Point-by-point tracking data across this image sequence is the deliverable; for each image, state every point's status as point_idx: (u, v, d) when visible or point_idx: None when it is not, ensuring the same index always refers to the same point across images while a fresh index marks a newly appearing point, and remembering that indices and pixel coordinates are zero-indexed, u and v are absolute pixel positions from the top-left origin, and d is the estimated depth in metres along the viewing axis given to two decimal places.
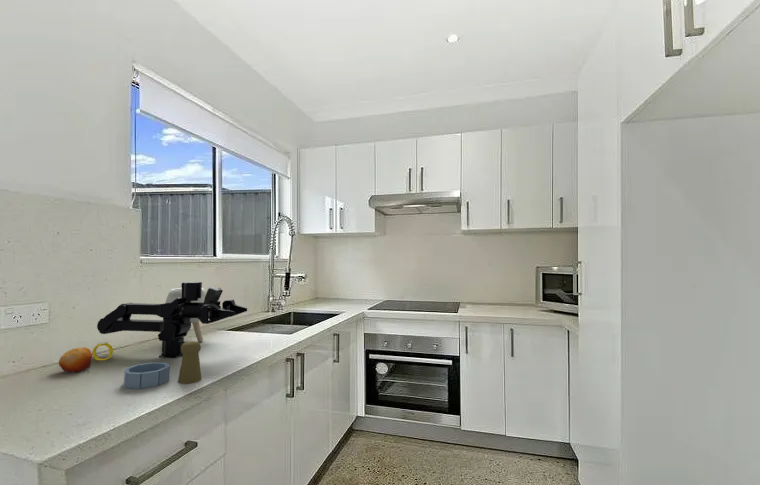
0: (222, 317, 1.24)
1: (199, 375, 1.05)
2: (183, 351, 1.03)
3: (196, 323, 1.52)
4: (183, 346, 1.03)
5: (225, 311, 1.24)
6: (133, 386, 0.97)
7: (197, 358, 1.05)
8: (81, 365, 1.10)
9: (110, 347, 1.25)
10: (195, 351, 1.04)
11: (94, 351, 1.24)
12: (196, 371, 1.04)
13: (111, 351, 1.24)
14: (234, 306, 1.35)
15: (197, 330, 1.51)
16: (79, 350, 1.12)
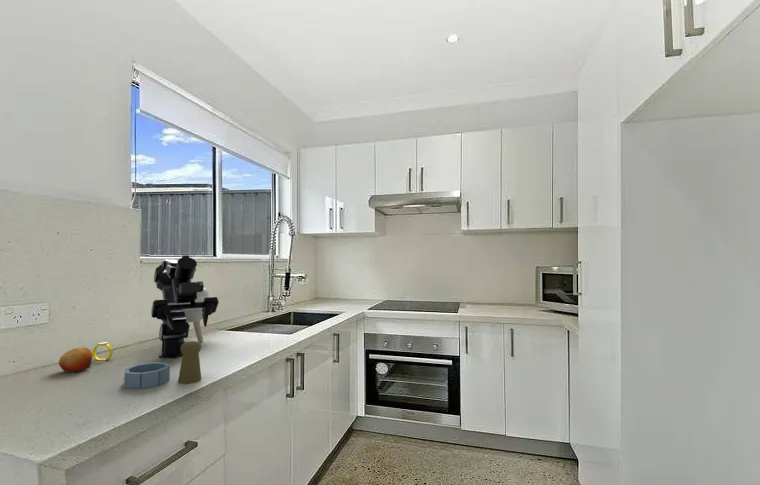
0: (166, 322, 1.11)
1: (199, 375, 1.05)
2: (183, 351, 1.03)
3: (197, 323, 1.52)
4: (183, 346, 1.03)
5: (169, 320, 1.10)
6: (133, 386, 0.97)
7: (197, 358, 1.05)
8: (81, 365, 1.10)
9: (110, 347, 1.25)
10: (195, 351, 1.04)
11: (94, 351, 1.24)
12: (196, 371, 1.04)
13: (111, 351, 1.24)
14: (204, 311, 1.18)
15: (197, 329, 1.52)
16: (79, 350, 1.12)
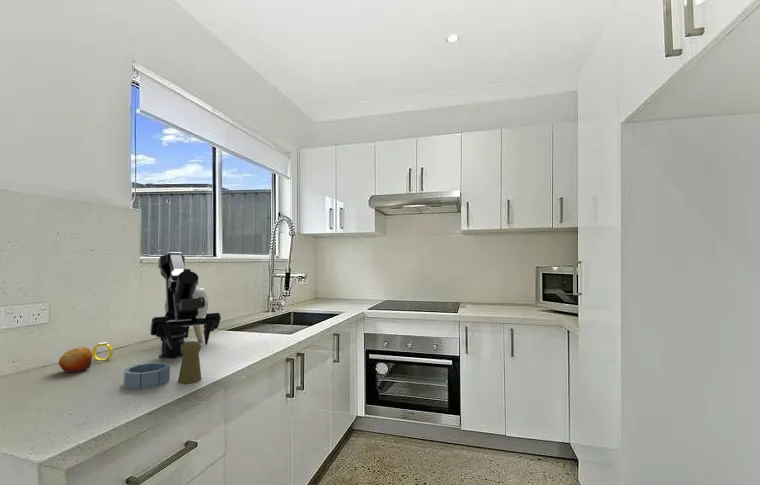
0: (165, 340, 1.06)
1: (199, 375, 1.05)
2: (183, 351, 1.03)
3: None
4: (183, 346, 1.03)
5: (168, 338, 1.05)
6: (133, 386, 0.97)
7: (197, 358, 1.05)
8: (81, 365, 1.10)
9: (110, 347, 1.25)
10: (195, 351, 1.04)
11: (94, 351, 1.24)
12: (196, 371, 1.04)
13: (111, 351, 1.24)
14: (206, 328, 1.12)
15: (197, 330, 1.51)
16: (79, 350, 1.12)
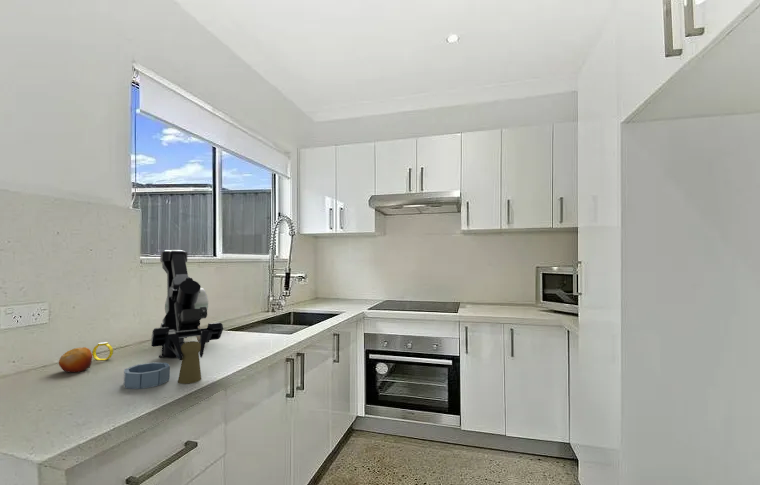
0: (174, 351, 1.05)
1: (199, 375, 1.05)
2: (183, 351, 1.03)
3: None
4: (183, 346, 1.03)
5: (177, 349, 1.03)
6: (133, 386, 0.97)
7: (197, 358, 1.05)
8: (81, 365, 1.10)
9: (110, 347, 1.25)
10: (195, 351, 1.04)
11: (94, 351, 1.24)
12: (196, 371, 1.04)
13: (111, 351, 1.24)
14: (201, 340, 1.08)
15: None
16: (79, 350, 1.12)
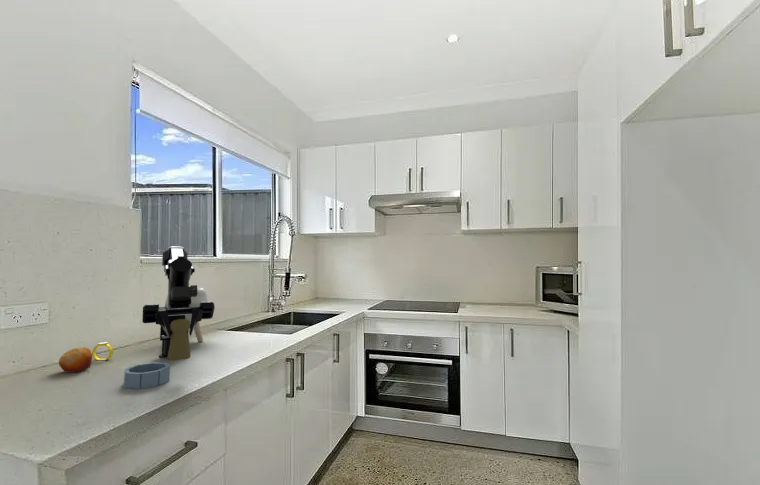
0: (164, 328, 1.04)
1: (188, 353, 1.04)
2: (172, 328, 1.02)
3: None
4: (172, 323, 1.03)
5: (166, 326, 1.03)
6: (133, 386, 0.97)
7: (186, 336, 1.04)
8: (81, 365, 1.10)
9: (110, 347, 1.25)
10: (183, 328, 1.03)
11: (94, 351, 1.24)
12: (184, 349, 1.03)
13: (111, 351, 1.24)
14: (191, 318, 1.08)
15: (197, 330, 1.51)
16: (79, 350, 1.12)
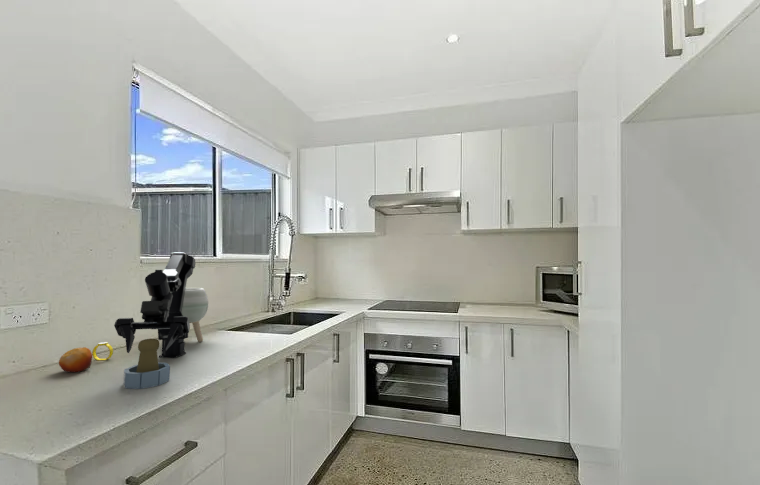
0: None
1: None
2: (138, 348, 1.02)
3: (196, 323, 1.52)
4: (139, 343, 1.02)
5: (126, 341, 1.02)
6: (133, 386, 0.97)
7: (152, 356, 1.02)
8: (81, 365, 1.10)
9: (110, 347, 1.25)
10: (148, 349, 1.01)
11: (94, 351, 1.24)
12: (149, 370, 1.01)
13: (111, 351, 1.24)
14: None
15: (197, 330, 1.51)
16: (79, 350, 1.12)
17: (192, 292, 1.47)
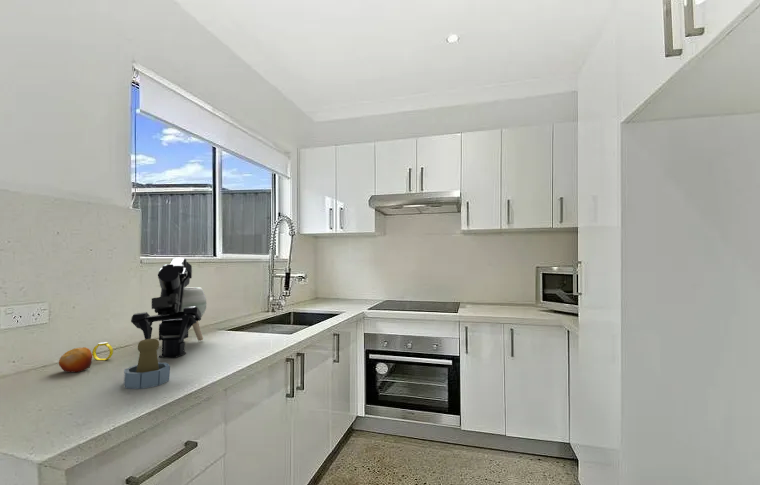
0: None
1: None
2: (138, 348, 1.01)
3: None
4: (139, 343, 1.02)
5: (144, 335, 1.10)
6: (133, 386, 0.97)
7: (152, 356, 1.02)
8: (81, 365, 1.10)
9: (110, 347, 1.25)
10: (148, 349, 1.01)
11: (94, 351, 1.24)
12: (149, 370, 1.01)
13: (111, 351, 1.24)
14: None
15: (196, 329, 1.51)
16: (79, 350, 1.12)
17: (190, 291, 1.47)
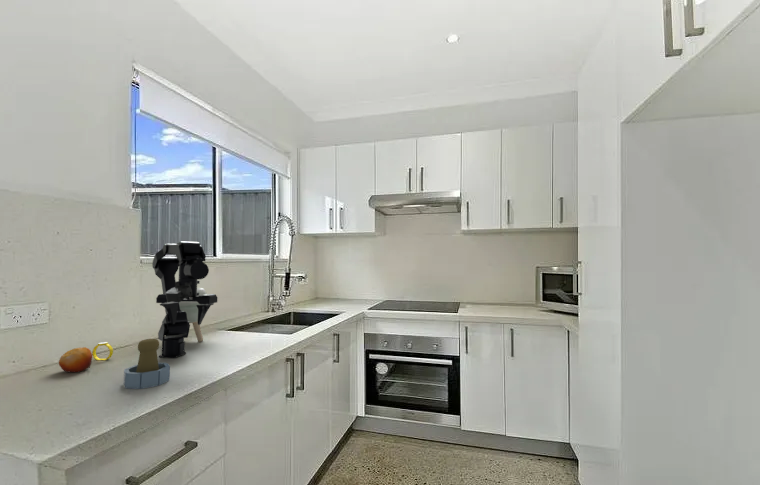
0: None
1: None
2: (138, 348, 1.01)
3: (196, 323, 1.52)
4: (139, 343, 1.02)
5: None
6: (133, 386, 0.97)
7: (152, 356, 1.02)
8: (81, 365, 1.10)
9: (110, 347, 1.25)
10: (148, 349, 1.01)
11: (94, 351, 1.24)
12: (149, 370, 1.01)
13: (111, 351, 1.24)
14: None
15: (197, 330, 1.51)
16: (79, 350, 1.12)
17: None
